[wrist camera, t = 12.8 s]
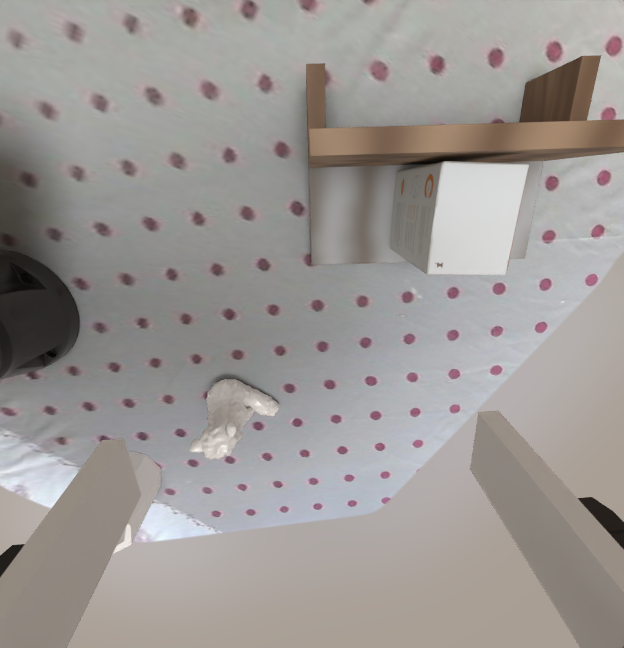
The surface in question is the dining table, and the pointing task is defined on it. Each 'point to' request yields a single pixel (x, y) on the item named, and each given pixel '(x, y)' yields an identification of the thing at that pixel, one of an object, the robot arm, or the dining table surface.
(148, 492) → the mug
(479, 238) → the small box
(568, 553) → the robot arm
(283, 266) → the dining table surface
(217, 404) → the sitting furry creature
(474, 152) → the wall board
